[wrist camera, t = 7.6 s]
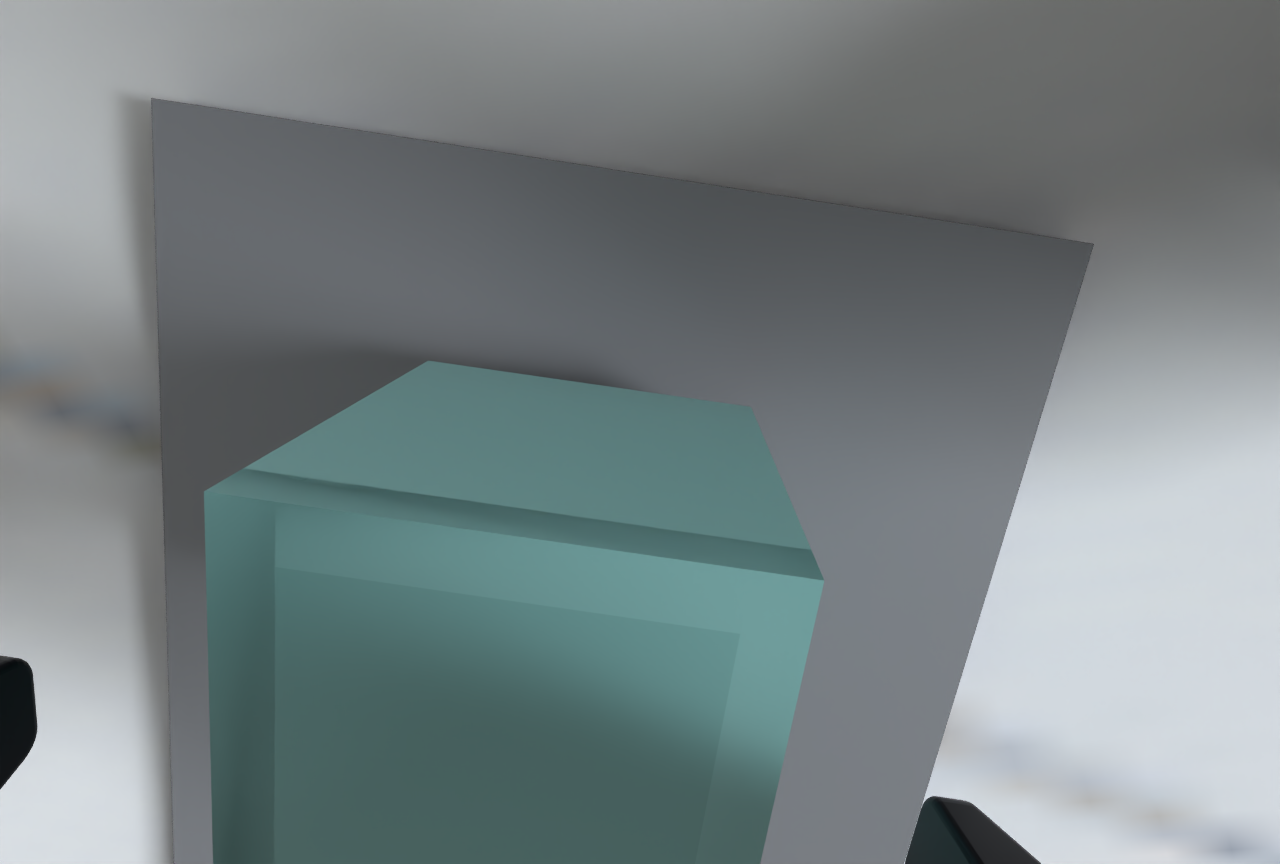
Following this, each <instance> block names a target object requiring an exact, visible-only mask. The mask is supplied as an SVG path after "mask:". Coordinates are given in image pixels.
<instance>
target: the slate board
mask: <svg viewBox="0 0 1280 864" xmlns="http://www.w3.org/2000/svg"><path fill="white" fill-rule="evenodd" d="M151 105H152V139H153V173H154V207H155V241H156V275H157V309H158V343H159V377H160V411H161V445H162V478H163V512H164V546H165V580H166V614H167V648H168V682H169V716H170V750H171V784H172V818H173V852H174V864H213V840H212V799H211V758H210V718H209V677H208V636H207V596H206V555H205V514H204V491H206V490H207V489H209V488H211V487H212V486H214V485H216V484H218V483H219V482H221V481H223V480H224V479H226V478H228V477H230V476H231V475H233V474H235V473H236V472H238V471H240V470H242V469H243V468H245V467H247V466H248V465H250V464H252V463H254V462H255V461H257V460H259V459H260V458H262V457H264V456H266V455H267V454H269V453H271V452H272V451H274V450H276V449H278V448H279V447H281V446H283V445H284V444H286V443H288V442H290V441H291V440H293V439H295V438H296V437H298V436H300V435H302V434H303V433H305V432H307V431H308V430H310V429H312V428H314V427H315V426H317V425H319V424H320V423H322V422H324V421H326V420H327V419H329V418H331V417H332V416H334V415H336V414H338V413H339V412H341V411H343V410H344V409H346V408H348V407H350V406H351V405H353V404H355V403H356V402H358V401H360V400H362V399H363V398H365V397H367V396H368V395H370V394H372V393H374V392H375V391H377V390H379V389H380V388H382V387H384V386H386V385H387V384H389V383H391V382H392V381H394V380H396V379H398V378H399V377H401V376H403V375H404V374H406V373H408V372H410V371H411V370H413V369H415V368H416V367H418V366H420V365H422V364H423V363H425V362H427V361H435V362H442V363H449V364H456V365H463V366H469V367H476V368H483V369H490V370H497V371H504V372H511V373H518V374H525V375H532V376H539V377H546V378H553V379H560V380H567V381H574V382H581V383H588V384H595V385H602V386H609V387H616V388H623V389H630V390H637V391H644V392H651V393H658V394H665V395H672V396H679V397H685V398H692V399H699V400H706V401H713V402H720V403H727V404H734V405H741V406H748V407H751V408H752V411H753V413H754V415H755V418H756V420H757V422H758V425H759V427H760V429H761V432H762V434H763V437H764V439H765V441H766V444H767V446H768V448H769V451H770V453H771V455H772V458H773V460H774V463H775V465H776V467H777V470H778V472H779V474H780V477H781V479H782V481H783V484H784V486H785V489H786V491H787V493H788V496H789V498H790V500H791V503H792V505H793V508H794V510H795V512H796V515H797V517H798V519H799V522H800V524H801V526H802V529H803V531H804V534H805V536H806V538H807V541H808V543H809V545H810V548H811V550H812V552H813V555H814V557H815V560H816V562H817V564H818V567H819V569H820V571H821V574H822V576H823V578H824V585H823V589H822V593H821V598H820V602H819V607H818V611H817V615H816V620H815V624H814V629H813V633H812V637H811V642H810V646H809V651H808V655H807V660H806V664H805V668H804V673H803V677H802V682H801V686H800V690H799V695H798V699H797V704H796V708H795V712H794V717H793V721H792V726H791V730H790V734H789V739H788V743H787V748H786V752H785V756H784V761H783V765H782V770H781V774H780V779H779V783H778V787H777V792H776V796H775V801H774V805H773V809H772V814H771V818H770V823H769V827H768V831H767V836H766V840H765V845H764V849H763V853H762V858H761V862H760V864H904V861H905V858H906V855H907V852H908V848H909V845H910V842H911V839H912V835H913V832H914V829H915V826H916V822H917V819H918V816H919V813H920V809H921V806H922V803H923V800H924V796H925V793H926V790H927V786H928V783H929V780H930V777H931V773H932V770H933V767H934V764H935V760H936V757H937V754H938V751H939V747H940V744H941V741H942V738H943V734H944V731H945V728H946V725H947V721H948V718H949V715H950V711H951V708H952V705H953V702H954V698H955V695H956V692H957V689H958V685H959V682H960V679H961V676H962V672H963V669H964V666H965V663H966V659H967V656H968V653H969V650H970V646H971V643H972V640H973V636H974V633H975V630H976V627H977V623H978V620H979V617H980V614H981V610H982V607H983V604H984V601H985V597H986V594H987V591H988V588H989V584H990V581H991V578H992V575H993V571H994V568H995V565H996V562H997V558H998V555H999V552H1000V548H1001V545H1002V542H1003V539H1004V535H1005V532H1006V529H1007V526H1008V522H1009V519H1010V516H1011V513H1012V509H1013V506H1014V503H1015V500H1016V496H1017V493H1018V490H1019V487H1020V483H1021V480H1022V477H1023V473H1024V470H1025V467H1026V464H1027V460H1028V457H1029V454H1030V451H1031V447H1032V444H1033V441H1034V438H1035V434H1036V431H1037V428H1038V425H1039V421H1040V418H1041V415H1042V412H1043V408H1044V405H1045V402H1046V398H1047V395H1048V392H1049V389H1050V385H1051V382H1052V379H1053V376H1054V372H1055V369H1056V366H1057V363H1058V359H1059V356H1060V353H1061V350H1062V346H1063V343H1064V340H1065V337H1066V333H1067V330H1068V327H1069V324H1070V320H1071V317H1072V314H1073V310H1074V307H1075V304H1076V301H1077V297H1078V294H1079V291H1080V288H1081V284H1082V281H1083V278H1084V275H1085V271H1086V268H1087V265H1088V262H1089V258H1090V255H1091V252H1092V249H1093V245H1094V244H1092V243H1085V242H1079V241H1072V240H1066V239H1060V238H1053V237H1047V236H1040V235H1034V234H1027V233H1021V232H1014V231H1008V230H1001V229H995V228H988V227H982V226H975V225H969V224H962V223H956V222H950V221H943V220H937V219H930V218H924V217H917V216H911V215H904V214H898V213H891V212H885V211H878V210H872V209H865V208H859V207H853V206H846V205H840V204H833V203H827V202H820V201H814V200H807V199H801V198H794V197H788V196H781V195H775V194H768V193H762V192H755V191H749V190H743V189H736V188H730V187H723V186H717V185H710V184H704V183H697V182H691V181H684V180H678V179H671V178H665V177H658V176H652V175H646V174H639V173H633V172H626V171H620V170H613V169H607V168H600V167H594V166H587V165H581V164H574V163H568V162H561V161H555V160H549V159H542V158H536V157H529V156H523V155H516V154H510V153H503V152H497V151H490V150H484V149H477V148H471V147H464V146H458V145H451V144H445V143H439V142H432V141H426V140H419V139H413V138H406V137H400V136H393V135H387V134H380V133H374V132H367V131H361V130H354V129H348V128H342V127H335V126H329V125H322V124H316V123H309V122H303V121H296V120H290V119H283V118H277V117H270V116H264V115H257V114H251V113H244V112H238V111H232V110H225V109H219V108H212V107H206V106H199V105H193V104H186V103H180V102H173V101H167V100H160V99H154V98H151Z"/></svg>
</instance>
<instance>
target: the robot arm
mask: <svg viewBox="0 0 1280 864" xmlns="http://www.w3.org/2000/svg"><path fill="white" fill-rule="evenodd" d="M36 734H37V717H36V705H35V693H34V682H33V673H32V669H31V667H30V666H29V664H28V663H27V662H26V661H24V660H22V659H19V658H13V657H7V656H0V789H1V788H2V787H3V785H4V784H5V783H6V782H7V780H8V779H9V778H10V777H11V775H12V774H13V773H14V772H15V770H16V769H17V768H18V767H19V765H20V764H21V763H22V762H23V761H24V759H25V758H26V756H27V755H28V753H29V752H30V750H31V748H32V746H33V744H34V741H35V738H36ZM905 864H1041V863H1040V862H1039V861H1038V860H1037V859H1035V858H1034V857H1033V856H1032V855H1031V854H1030V853H1029V852H1027V851H1026V850H1025V849H1024V848H1023V847H1022V846H1021V845H1019V844H1018V843H1017V842H1016V841H1015V840H1014V839H1013V838H1011V837H1010V836H1009V835H1008V834H1007V833H1006V832H1005V831H1003V830H1002V829H1001V828H1000V827H999V826H998V825H997V824H995V823H994V822H993V821H992V820H991V819H990V818H989V817H987V816H986V815H985V814H984V813H983V812H982V811H981V810H979V809H978V808H977V807H976V806H974V805H973V804H972V803H970V802H967V801H963V800H957V799H950V798H944V797H937V796H933V797H930V798H928V799H926V801H925V802H924V804H923V806H922V808H921V811H920V814H919V817H918V821H917V824H916V827H915V830H914V834H913V837H912V840H911V844H910V847H909V850H908V853H907V857H906V861H905Z"/></svg>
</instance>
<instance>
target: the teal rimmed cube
mask: <svg viewBox="0 0 1280 864" xmlns="http://www.w3.org/2000/svg"><path fill="white" fill-rule="evenodd" d="M204 514H205V555H206V596H207V636H208V677H209V718H210V758H211V799H212V840H213V864H760V862H761V858H762V853H763V849H764V845H765V840H766V836H767V831H768V827H769V823H770V818H771V814H772V809H773V805H774V801H775V796H776V792H777V787H778V783H779V779H780V774H781V770H782V765H783V761H784V756H785V752H786V748H787V743H788V739H789V734H790V730H791V726H792V721H793V717H794V712H795V708H796V704H797V699H798V695H799V690H800V686H801V682H802V677H803V673H804V668H805V664H806V660H807V655H808V651H809V646H810V642H811V637H812V633H813V629H814V624H815V620H816V615H817V611H818V607H819V602H820V598H821V593H822V589H823V585H824V578H823V576H822V574H821V571H820V569H819V567H818V564H817V562H816V560H815V557H814V555H813V552H812V550H811V548H810V545H809V543H808V541H807V538H806V536H805V534H804V531H803V529H802V526H801V524H800V522H799V519H798V517H797V515H796V512H795V510H794V508H793V505H792V503H791V500H790V498H789V496H788V493H787V491H786V489H785V486H784V484H783V481H782V479H781V477H780V474H779V472H778V470H777V467H776V465H775V463H774V460H773V458H772V455H771V453H770V451H769V448H768V446H767V444H766V441H765V439H764V437H763V434H762V432H761V429H760V427H759V425H758V422H757V420H756V418H755V415H754V413H753V411H752V408H751V407H748V406H741V405H734V404H727V403H720V402H713V401H706V400H699V399H692V398H685V397H679V396H672V395H665V394H658V393H651V392H644V391H637V390H630V389H623V388H616V387H609V386H602V385H595V384H588V383H581V382H574V381H567V380H560V379H553V378H546V377H539V376H532V375H525V374H518V373H511V372H504V371H497V370H490V369H483V368H476V367H469V366H463V365H456V364H449V363H442V362H435V361H427V362H425V363H423V364H422V365H420V366H418V367H416V368H415V369H413V370H411V371H410V372H408V373H406V374H404V375H403V376H401V377H399V378H398V379H396V380H394V381H392V382H391V383H389V384H387V385H386V386H384V387H382V388H380V389H379V390H377V391H375V392H374V393H372V394H370V395H368V396H367V397H365V398H363V399H362V400H360V401H358V402H356V403H355V404H353V405H351V406H350V407H348V408H346V409H344V410H343V411H341V412H339V413H338V414H336V415H334V416H332V417H331V418H329V419H327V420H326V421H324V422H322V423H320V424H319V425H317V426H315V427H314V428H312V429H310V430H308V431H307V432H305V433H303V434H302V435H300V436H298V437H296V438H295V439H293V440H291V441H290V442H288V443H286V444H284V445H283V446H281V447H279V448H278V449H276V450H274V451H272V452H271V453H269V454H267V455H266V456H264V457H262V458H260V459H259V460H257V461H255V462H254V463H252V464H250V465H248V466H247V467H245V468H243V469H242V470H240V471H238V472H236V473H235V474H233V475H231V476H230V477H228V478H226V479H224V480H223V481H221V482H219V483H218V484H216V485H214V486H212V487H211V488H209V489H207V490H206V491H204Z"/></svg>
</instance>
